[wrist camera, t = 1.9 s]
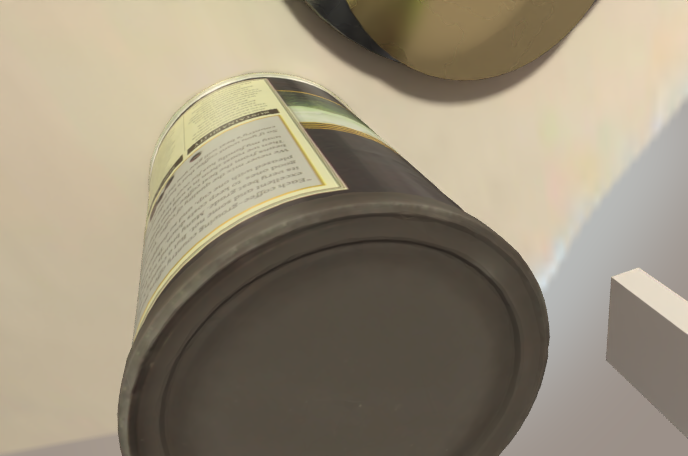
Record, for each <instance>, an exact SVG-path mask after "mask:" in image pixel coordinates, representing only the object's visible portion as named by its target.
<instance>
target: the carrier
mask: <svg viewBox="0 0 688 456" xmlns="http://www.w3.org/2000/svg"><path fill="white" fill-rule="evenodd" d="M304 1H305V2H306V4H307V5H308V6H309V7H310V8H311V9H312V10H313V11H314V12H315V13H316V14H317V15H318V16H319V17H320V18H322V19H323V20H324V21H325V22H327V23H328V24H329V25H330V26H332V27H333V28H334V29H335V30H336V31H338V32H339V33H340V34H342V35H344V36H345V37H347V38H349V39H350V40H352V41H354V42H355V43H357V44H359V45H360V46H362V47H364V48H366V49H368V50H370V51H372V52H374V53H376V54H379V55H381V56H384V57H386V58H389V59H391V60H393V61H396V62H400V63H403V64H405V65H406V66H408V67H410V68H412V69H415V70H417V71H419V72H422V73H424V74H427V75H430V76H435V77H439V78H443V79H451V80H462V81H463V80H480V79H485V78H490V77H495V76H499V75H502V74H505V73H507V72H510V71H513V70H516V69H518V68H520V67H522V66H524V65H526V64H528V63H530V62H532V61H533V60H535V59H536V58H538V57H539V56H541V55H542V54H544V53H545V52H547V51H548V50H549V49H551V48H552V47H553V46H554V45H555V44H557V43H558V42H559V41H560V40H562V39H563V38H564V37H565V36H566V35H567V34H568V33H569V32H570V31H571V30H572V28H573V27H574V26H575V25H576V24H577V23H578V22H579V21H580V20H581V18H582V17H583V16H584V14H585V13H586V12H587V11H588V9H589V8H590V7H591V5H592V4H593V3H594V2H595V1H596V0H304Z"/></svg>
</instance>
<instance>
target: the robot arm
mask: <svg viewBox="0 0 688 456" xmlns="http://www.w3.org/2000/svg"><path fill="white" fill-rule="evenodd" d="M606 360H607V361H608V362H609V363H610V364H611V365H612V366H613V367H614V368H615V369H616V370H617V371H618V372H619V373H620V374H621V375H622V376H623V377H624V378H625V379H626V380H627V381H629V383H631V384H632V386H634V387H635V388H636V389H637V390H638V391H639V392H640V393H641V394H642V395H643V396H644V397H645V398H646V399H647V400H648V401H649V402H650V403H651V404H652V405H653V406H654V407H655V408H656V409H658V411H660V412H661V413H662V414H663V415H664V416H665V417H666V418H667V419H668V420H669V421H670V422H671V423H672V424H673V425H674V426H675V427H676V428H677V429H678V430H679V431H680V432H682V434H683V435H684V436H686V437H687V438H688V301H686V300H685V299H683V298H682V297H680V296H679V295H677V294H676V293H675V292H673V291H672V290H670V289H669V288H667V287H666V286H664V285H663V284H662V283H660V282H659V281H657V280H656V279H654V278H653V277H651V276H650V275H649V274H647V273H645V272H644V271H642V270H641V269H640V268H637V269H633V270H630V271H627V272H624V273H621V274H618V275H615V276H612V277H611V289H610V306H609V321H608V337H607V352H606Z"/></svg>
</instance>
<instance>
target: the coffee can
mask: <svg viewBox="0 0 688 456" xmlns="http://www.w3.org/2000/svg"><path fill="white" fill-rule="evenodd" d="M549 338H550V336H549V322H548V315H547V309H546V305H545V300H544V297H543V294H542V291H541V289H540V286H539V284H538V282H537V280H536V279H535V277H534V275H533V273H532V271H531V270H530V268H529V267H528V265H527V263H526V262H525V261H524V260H523V258H522V257H521V256H520V254H519V253H518V252H517V251H516V250H515V249H514V248H513V247H512V246H511V245H510V244H508V243H507V242H506V241H505V240H504V239H503V238H502V237H501V236H499V235H498V234H497V233H496V232H494V231H493V230H492V229H490V228H489V227H488V226H486V225H485V224H484V223H482V222H481V221H479V220H478V219H476V218H475V217H473V216H471V215H469V214H468V213H466V212H464V211H463V210H462V209H461V208H460V207H459V206H458V205H457V204H456V203H454V202H453V201H452V200H451V199H450V198H448V197H447V196H446V195H445V194H443V193H442V192H441V191H440V190H439V189H438V188H437V187H436V186H435V185H434V184H433V183H431V182H430V181H429V180H428V179H427V178H426V177H424V176H423V175H422V174H421V173H420V172H419V171H418V170H417V169H415V168H414V167H413V166H412V165H411V164H410V163H409V162H408V161H406V160H405V159H404V158H403V157H402V156H400V155H399V154H398V153H397V152H396V151H395V150H394V149H393V148H392V147H390V146H389V145H388V144H387V143H386V142H385V141H384V140H382V139H381V138H380V137H379V136H378V135H377V134H376V133H375V132H374V131H372V130H371V129H370V128H369V127H368V126H367V125H366V124H365V123H364V122H362V121H361V120H360V119H359V118H358V117H357V116H356V115H355V114H354V113H353V111H352V110H351V109H350V108H349V107H348V106H347V105H346V104H345V103H344V102H343V101H342V100H341V99H340V98H339V97H337V96H336V95H334V94H333V93H332V92H330V91H329V90H327V89H325V88H324V87H322V86H321V85H318V84H316V83H314V82H311V81H309V80H306V79H303V78H300V77H297V76H292V75H286V74H279V73H250V74H245V75H241V76H237V77H233V78H229V79H226V80H224V81H221V82H219V83H217V84H214V85H212V86H210V87H208V88H207V89H205V90H203V91H202V92H200V93H199V94H197V95H196V96H194V97H193V98H192V99H190V100H189V101H188V102H187V103H186V104H185V105H184V106H182V107H181V108H180V109H179V110H178V111H177V112H176V113H175V114H174V115H173V117H172V118H171V119H170V121H169V122H168V124H167V126H166V127H165V129H164V131H163V132H162V134H161V135H160V137H159V139H158V142H157V144H156V147H155V150H154V153H153V156H152V158H151V164H150V170H149V199H148V209H147V218H146V227H145V233H144V245H143V254H142V263H141V273H140V283H139V291H138V300H137V309H136V318H135V326H134V334H133V342H132V348H131V350H130V353H129V355H128V358H127V361H126V366H125V370H124V374H123V379H122V383H121V389H120V395H119V403H118V436H119V442H120V449H121V453H122V456H499V455H500V453H501V452H502V451H503V450H504V449H505V447H506V446H507V445H508V444H509V443H510V442H511V440H512V439H513V438H514V436H515V435H516V433H517V432H518V431H519V429H520V428H521V426H522V424H523V422H524V420H525V419H526V417H527V416H528V414H529V412H530V410H531V408H532V405H533V403H534V401H535V399H536V397H537V394H538V391H539V389H540V386H541V383H542V380H543V376H544V372H545V367H546V363H547V359H548V346H549Z"/></svg>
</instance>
